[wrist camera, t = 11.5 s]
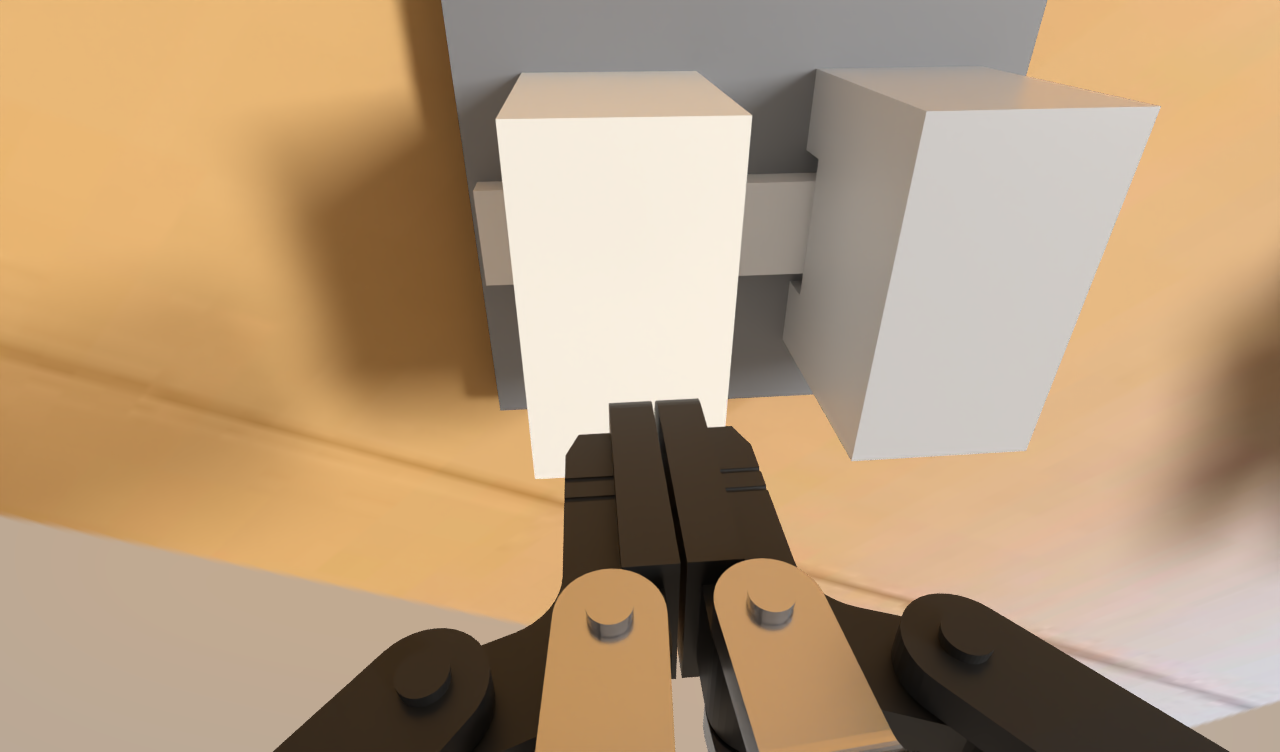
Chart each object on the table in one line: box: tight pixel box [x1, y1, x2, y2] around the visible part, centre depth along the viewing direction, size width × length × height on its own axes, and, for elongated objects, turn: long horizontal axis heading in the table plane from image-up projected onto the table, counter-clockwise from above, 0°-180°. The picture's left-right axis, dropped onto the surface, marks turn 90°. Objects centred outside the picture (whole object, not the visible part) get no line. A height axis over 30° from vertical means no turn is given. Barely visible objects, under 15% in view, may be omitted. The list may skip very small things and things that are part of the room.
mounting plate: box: [441, 0, 1047, 410], centre depth 20 cm, size 17×14×6 cm
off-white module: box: [495, 71, 752, 479], centre depth 18 cm, size 5×9×7 cm, turn 0°
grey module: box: [783, 66, 1161, 461], centre depth 19 cm, size 5×9×7 cm, turn 0°
